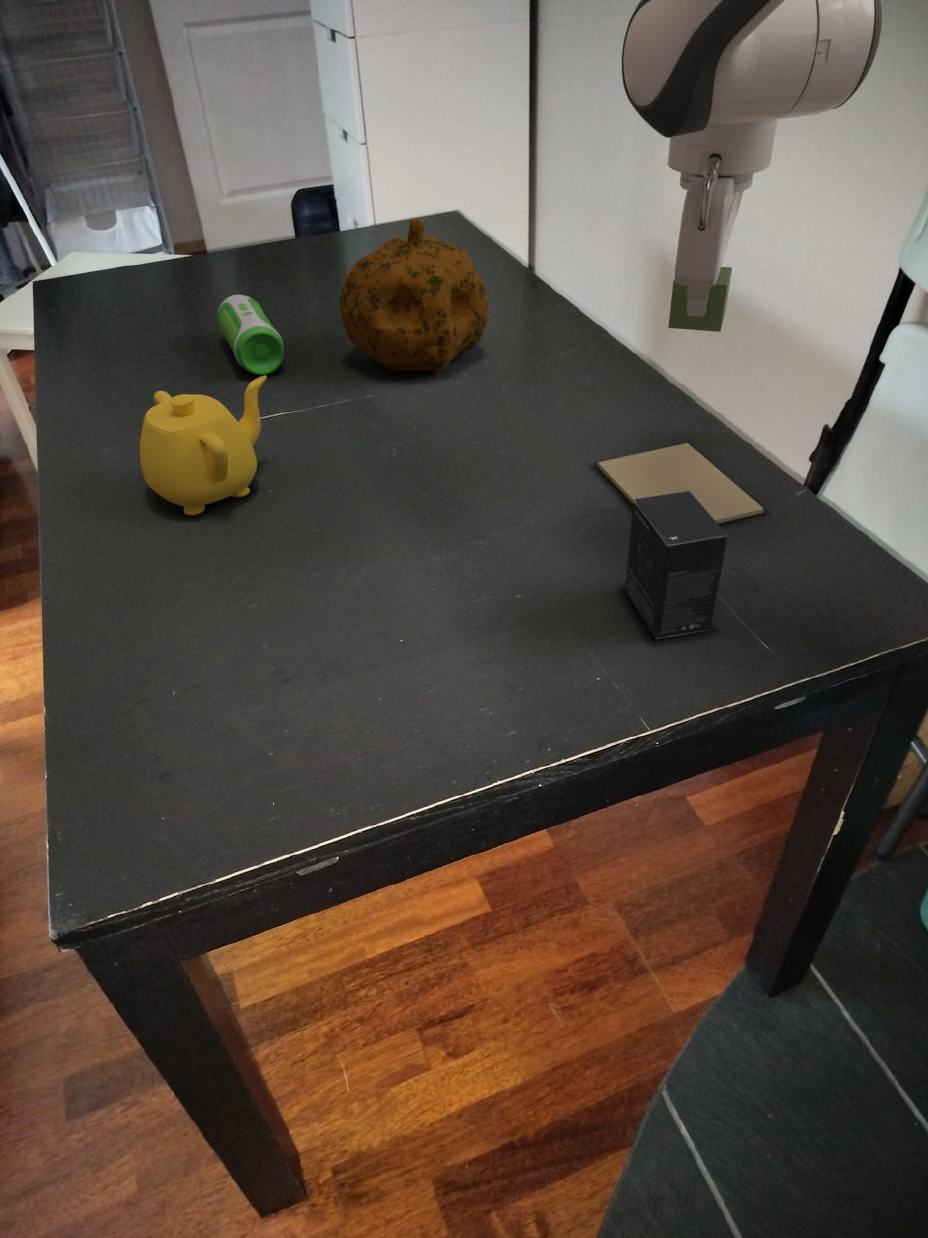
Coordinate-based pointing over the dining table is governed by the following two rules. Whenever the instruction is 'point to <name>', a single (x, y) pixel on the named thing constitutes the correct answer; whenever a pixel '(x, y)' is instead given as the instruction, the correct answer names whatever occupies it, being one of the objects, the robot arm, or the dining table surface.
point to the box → (674, 564)
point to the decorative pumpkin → (414, 303)
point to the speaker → (250, 335)
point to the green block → (714, 306)
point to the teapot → (199, 448)
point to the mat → (680, 480)
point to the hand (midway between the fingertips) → (699, 301)
